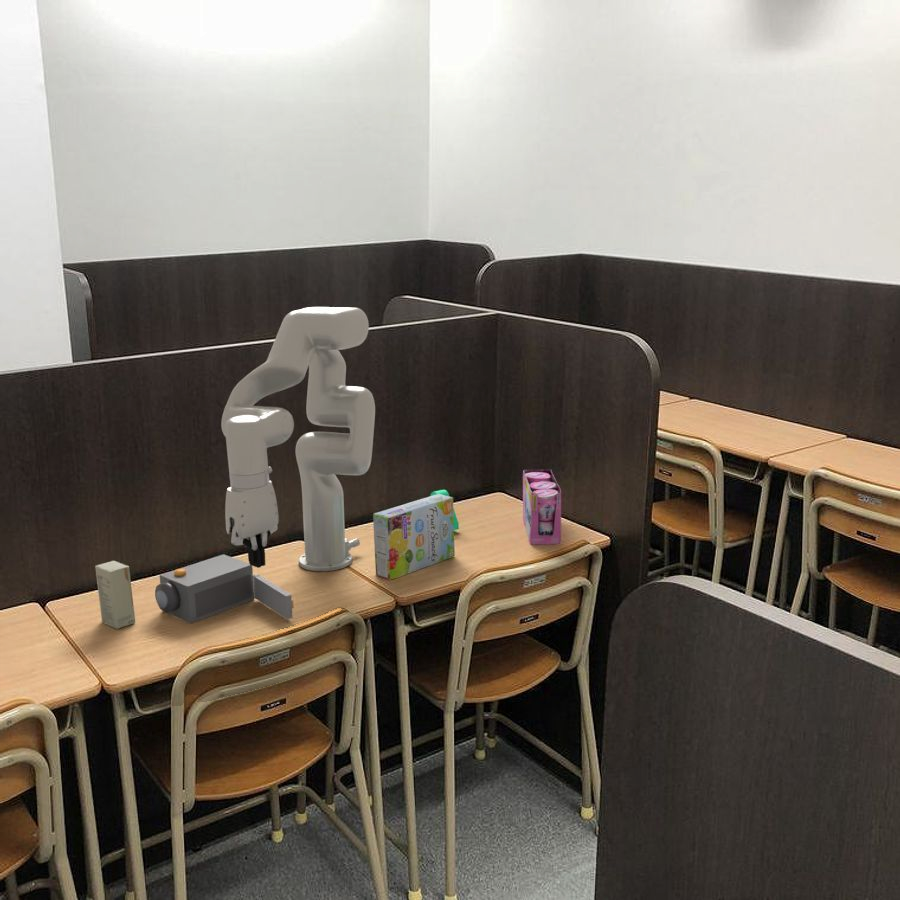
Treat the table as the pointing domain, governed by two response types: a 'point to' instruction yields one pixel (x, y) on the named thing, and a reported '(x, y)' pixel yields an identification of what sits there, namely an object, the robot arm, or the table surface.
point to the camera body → (205, 588)
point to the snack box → (413, 536)
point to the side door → (273, 596)
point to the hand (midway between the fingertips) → (257, 564)
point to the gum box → (541, 507)
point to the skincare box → (115, 594)
